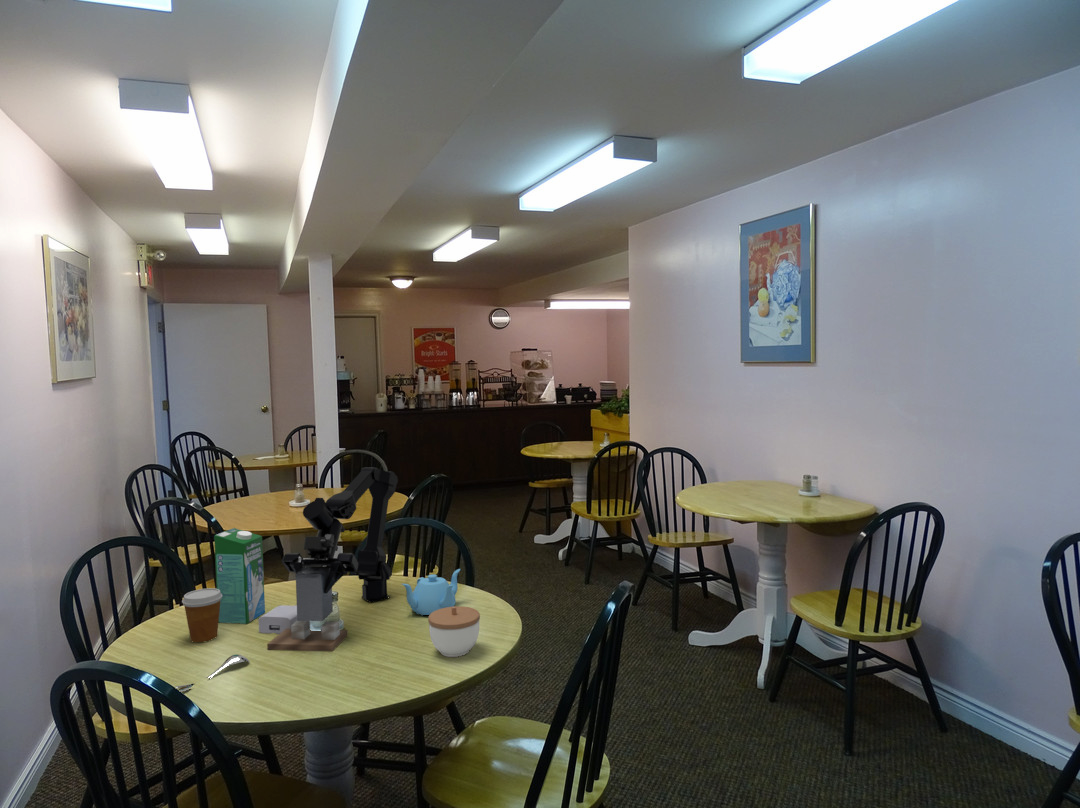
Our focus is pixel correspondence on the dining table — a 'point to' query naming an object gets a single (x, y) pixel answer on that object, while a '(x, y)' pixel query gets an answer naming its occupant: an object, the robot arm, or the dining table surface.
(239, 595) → the milk carton
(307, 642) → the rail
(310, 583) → the dark grey tall block
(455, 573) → the teapot
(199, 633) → the disposable coffee cup
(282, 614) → the charger
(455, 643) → the lidded bowl
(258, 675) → the dining table surface
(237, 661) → the silver metal spoon
